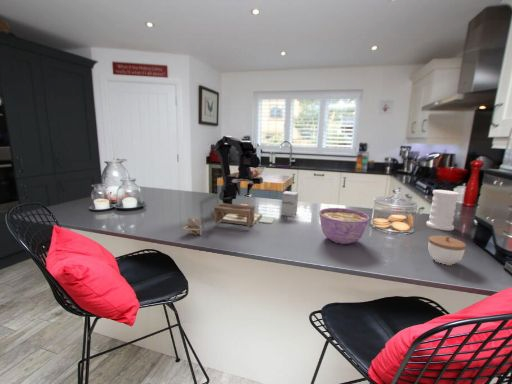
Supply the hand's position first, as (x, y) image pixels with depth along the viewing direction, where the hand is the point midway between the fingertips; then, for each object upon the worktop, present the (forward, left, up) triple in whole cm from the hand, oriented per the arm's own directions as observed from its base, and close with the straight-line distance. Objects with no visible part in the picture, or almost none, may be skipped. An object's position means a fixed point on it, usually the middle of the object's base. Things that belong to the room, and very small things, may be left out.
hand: (243, 195), depth 135 cm
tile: (0, +13, -12) cm, 18 cm away
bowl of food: (+15, +49, -12) cm, 53 cm away
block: (0, 0, -12) cm, 12 cm away
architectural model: (+30, -12, -13) cm, 35 cm away
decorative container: (-22, +98, -12) cm, 101 cm away
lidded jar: (+23, +84, -12) cm, 88 cm away
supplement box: (-15, +22, -12) cm, 29 cm away
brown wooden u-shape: (+13, 0, -10) cm, 17 cm away
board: (+2, 0, -12) cm, 12 cm away
